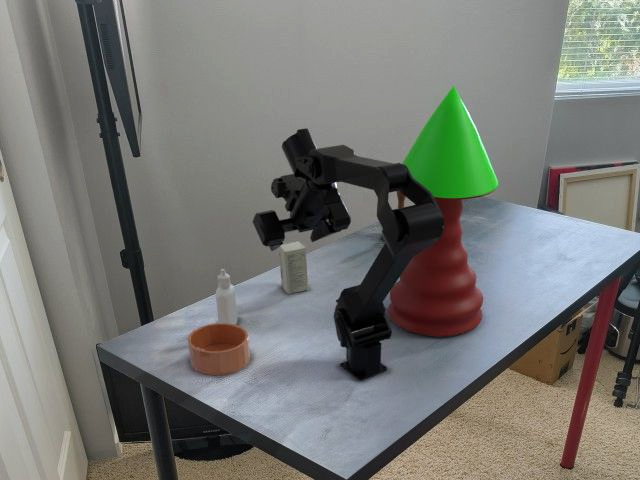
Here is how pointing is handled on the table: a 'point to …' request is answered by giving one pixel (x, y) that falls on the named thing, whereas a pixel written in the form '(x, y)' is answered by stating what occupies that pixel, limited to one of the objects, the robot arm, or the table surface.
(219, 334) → the round bowl
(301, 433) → the table surface
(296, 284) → the beige carton box
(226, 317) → the eye dropper bottle
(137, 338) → the table surface
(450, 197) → the table lamp
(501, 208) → the table surface
